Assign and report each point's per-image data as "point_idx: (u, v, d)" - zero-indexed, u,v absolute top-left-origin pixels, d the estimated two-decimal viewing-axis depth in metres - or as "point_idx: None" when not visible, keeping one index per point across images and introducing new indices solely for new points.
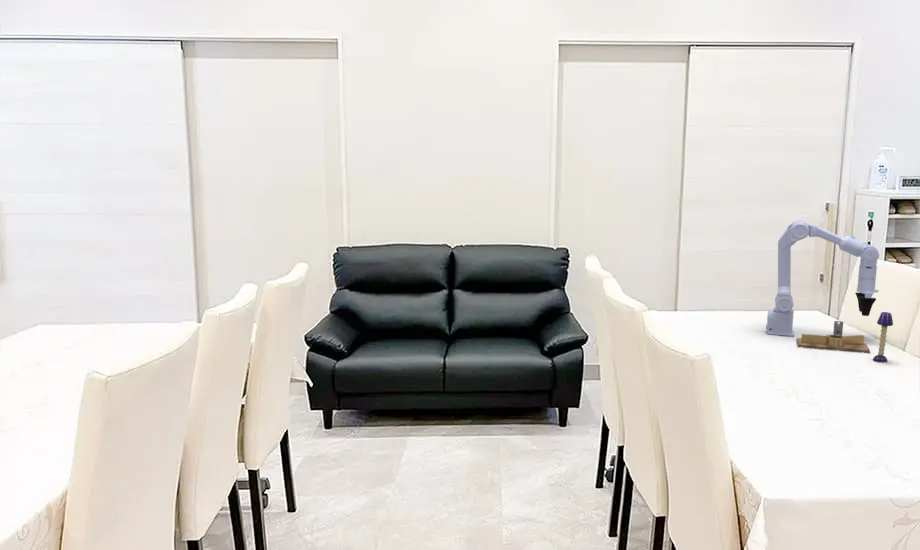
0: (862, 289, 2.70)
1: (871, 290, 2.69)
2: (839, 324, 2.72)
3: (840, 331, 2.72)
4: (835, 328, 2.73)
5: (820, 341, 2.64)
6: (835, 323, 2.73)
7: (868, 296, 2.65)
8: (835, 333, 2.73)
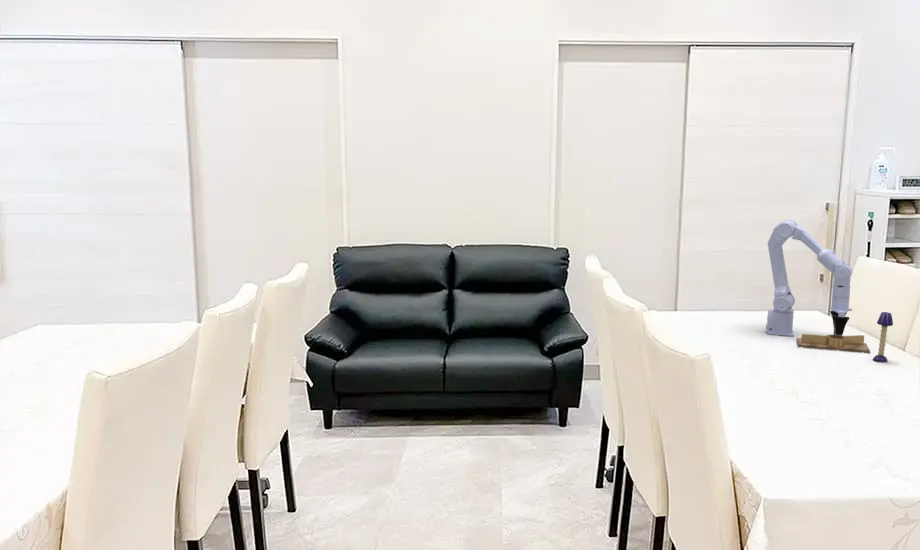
0: (836, 308, 2.70)
1: (845, 309, 2.69)
2: None
3: None
4: None
5: (820, 341, 2.64)
6: None
7: (841, 315, 2.66)
8: (835, 333, 2.73)
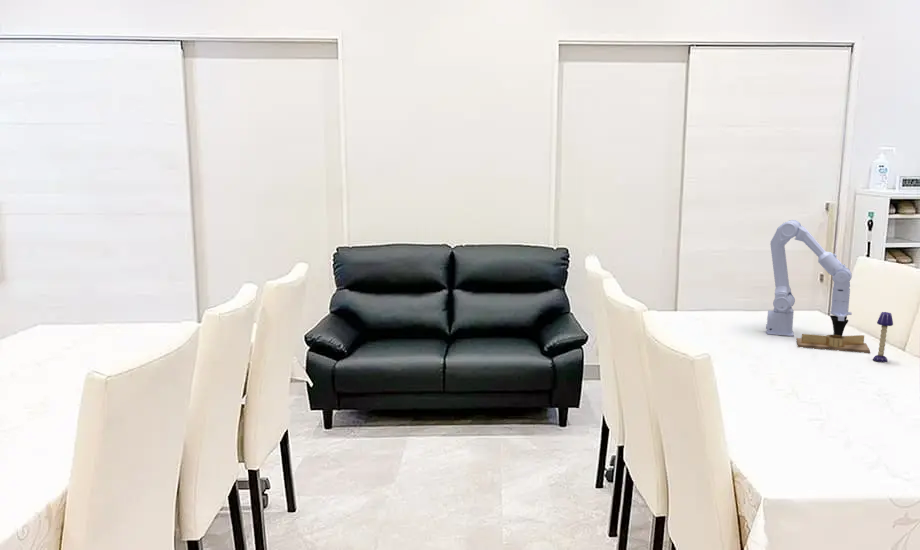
0: (835, 312, 2.71)
1: (844, 313, 2.70)
2: None
3: None
4: None
5: (820, 341, 2.64)
6: None
7: (841, 319, 2.66)
8: None
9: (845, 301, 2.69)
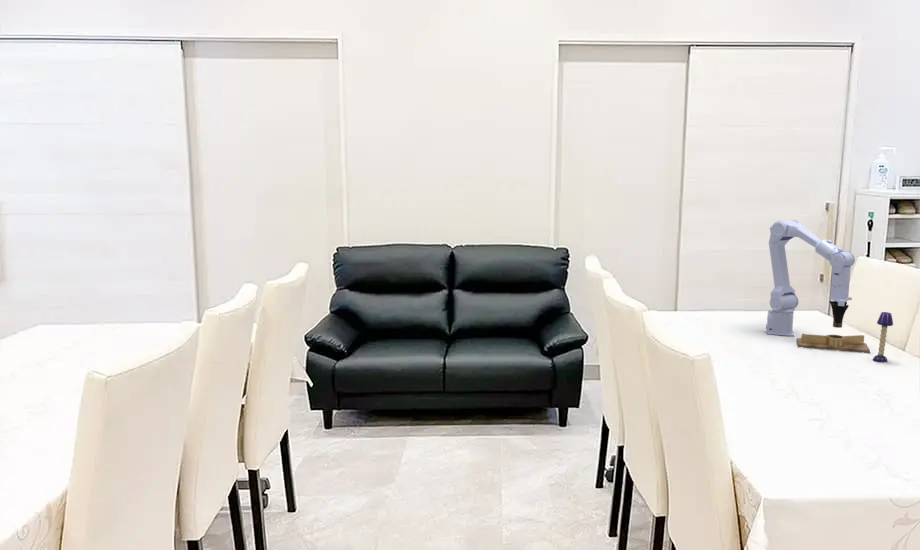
0: (835, 297, 2.61)
1: (844, 298, 2.60)
2: None
3: None
4: None
5: (820, 341, 2.64)
6: None
7: (841, 304, 2.56)
8: None
9: (845, 286, 2.59)
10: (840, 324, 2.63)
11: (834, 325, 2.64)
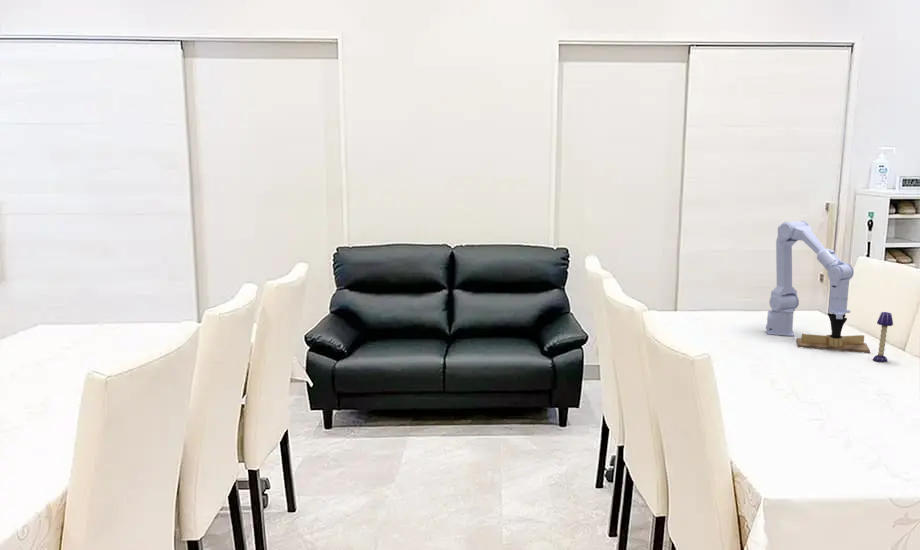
0: (833, 309, 2.59)
1: (843, 310, 2.58)
2: None
3: None
4: None
5: (820, 341, 2.64)
6: None
7: (839, 317, 2.54)
8: None
9: (843, 298, 2.57)
10: (838, 337, 2.61)
11: None
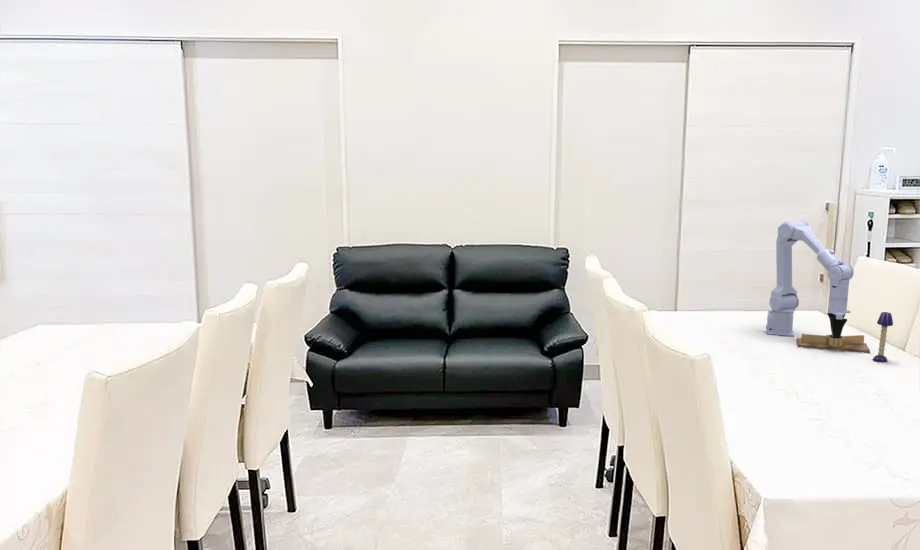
0: (833, 310, 2.59)
1: (843, 311, 2.58)
2: None
3: None
4: None
5: (820, 341, 2.64)
6: None
7: (839, 317, 2.54)
8: None
9: (843, 299, 2.57)
10: None
11: None
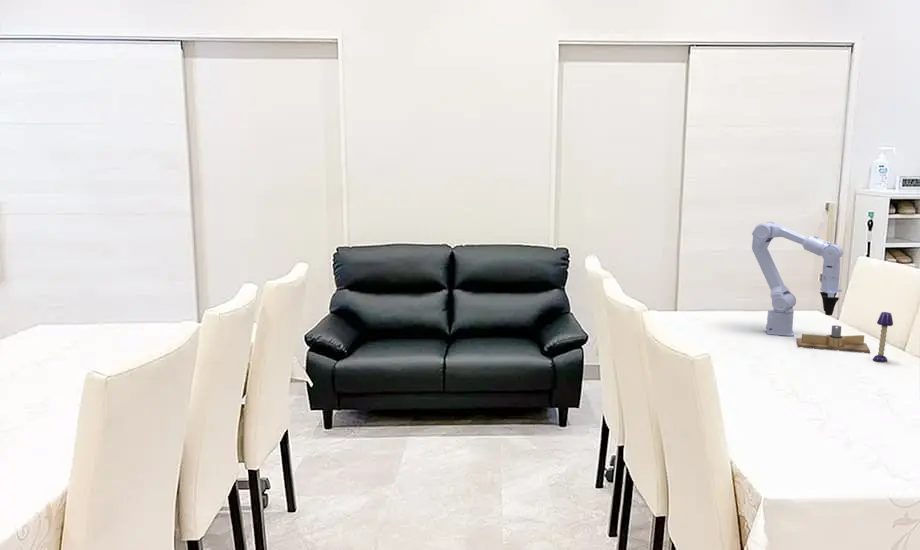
0: (825, 288, 2.70)
1: (834, 289, 2.69)
2: (837, 328, 2.60)
3: (838, 336, 2.61)
4: (833, 333, 2.62)
5: (820, 341, 2.64)
6: (833, 328, 2.61)
7: (831, 295, 2.65)
8: None
9: (835, 278, 2.68)
10: None
11: None
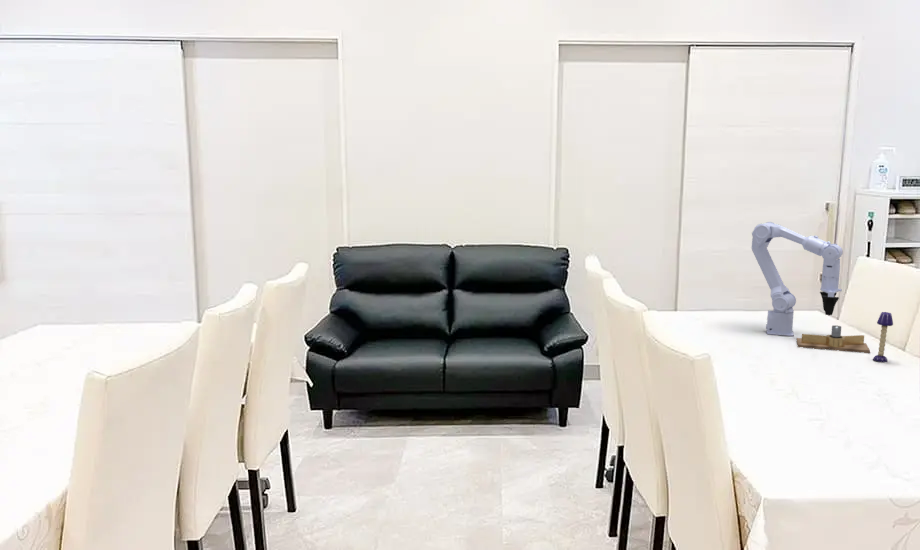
0: (825, 288, 2.70)
1: (834, 289, 2.69)
2: (837, 328, 2.60)
3: (838, 336, 2.61)
4: (833, 333, 2.62)
5: (820, 341, 2.64)
6: (833, 328, 2.61)
7: (831, 295, 2.65)
8: None
9: (835, 277, 2.68)
10: None
11: None
